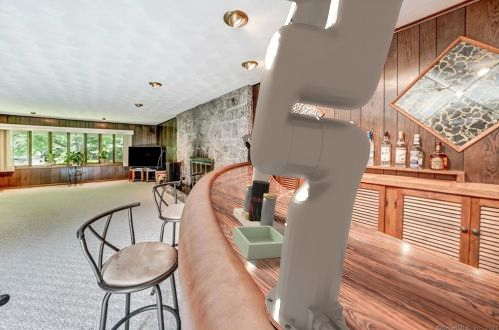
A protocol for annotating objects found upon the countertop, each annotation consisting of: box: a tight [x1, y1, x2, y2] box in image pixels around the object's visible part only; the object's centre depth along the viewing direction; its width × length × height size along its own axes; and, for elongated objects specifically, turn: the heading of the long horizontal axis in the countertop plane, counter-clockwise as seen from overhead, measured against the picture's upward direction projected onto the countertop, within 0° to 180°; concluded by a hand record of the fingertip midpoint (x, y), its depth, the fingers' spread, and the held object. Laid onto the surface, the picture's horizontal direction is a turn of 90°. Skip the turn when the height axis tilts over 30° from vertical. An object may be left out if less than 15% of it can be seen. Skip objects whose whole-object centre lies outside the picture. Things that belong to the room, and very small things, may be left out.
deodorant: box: [248, 180, 271, 222], centre depth 75 cm, size 6×6×15 cm
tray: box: [231, 225, 284, 261], centre depth 58 cm, size 12×12×4 cm
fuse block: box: [232, 183, 285, 236], centre depth 75 cm, size 21×10×12 cm, turn 22°
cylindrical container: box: [251, 167, 271, 184], centre depth 91 cm, size 7×7×25 cm
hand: (263, 163), depth 75 cm, fingers open, 9 cm apart
